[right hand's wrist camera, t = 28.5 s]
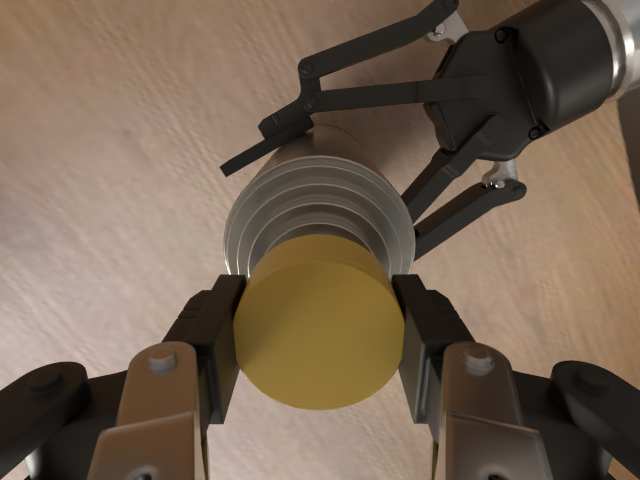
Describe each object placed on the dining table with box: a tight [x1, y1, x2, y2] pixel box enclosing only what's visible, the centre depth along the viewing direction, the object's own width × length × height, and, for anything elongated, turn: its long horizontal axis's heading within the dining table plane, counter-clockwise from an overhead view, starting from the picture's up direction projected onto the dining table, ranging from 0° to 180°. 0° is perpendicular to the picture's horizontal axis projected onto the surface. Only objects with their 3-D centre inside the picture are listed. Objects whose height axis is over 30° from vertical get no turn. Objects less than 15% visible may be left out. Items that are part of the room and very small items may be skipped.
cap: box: [233, 234, 405, 410], centre depth 11 cm, size 4×4×2 cm
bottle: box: [224, 125, 416, 282], centre depth 22 cm, size 8×8×23 cm
